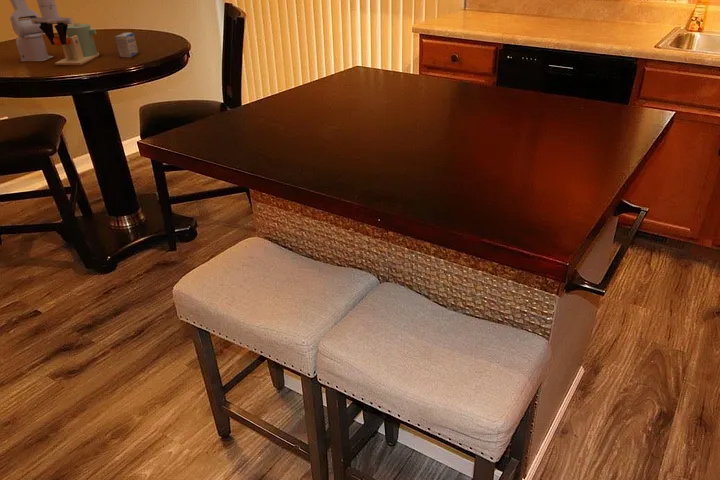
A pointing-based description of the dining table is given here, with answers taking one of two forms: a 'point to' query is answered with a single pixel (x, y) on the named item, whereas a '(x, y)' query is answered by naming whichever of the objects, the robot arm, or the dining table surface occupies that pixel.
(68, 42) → the switch
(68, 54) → the switch bracket
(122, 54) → the medicine box
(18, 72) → the dining table surface
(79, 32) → the kettle
